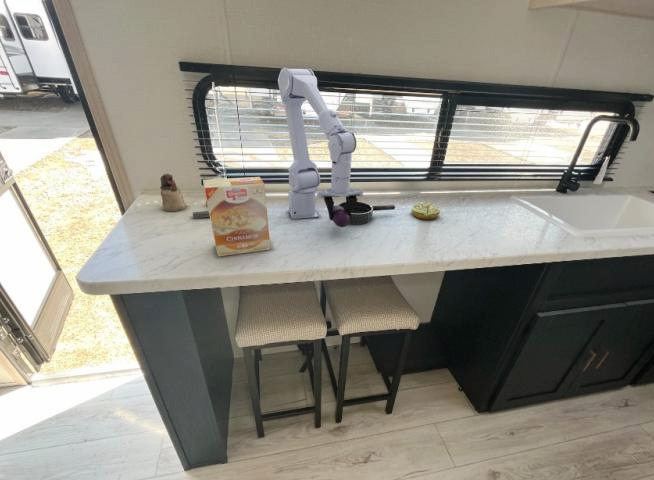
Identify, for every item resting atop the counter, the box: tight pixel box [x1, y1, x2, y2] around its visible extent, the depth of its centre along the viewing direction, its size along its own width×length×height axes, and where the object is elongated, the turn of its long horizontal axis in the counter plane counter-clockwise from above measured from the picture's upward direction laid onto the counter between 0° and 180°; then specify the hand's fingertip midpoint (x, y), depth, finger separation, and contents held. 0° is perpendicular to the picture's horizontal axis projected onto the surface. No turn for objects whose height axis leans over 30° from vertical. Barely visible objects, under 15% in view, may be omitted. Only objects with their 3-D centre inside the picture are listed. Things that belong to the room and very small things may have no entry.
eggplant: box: [332, 204, 349, 228], centre depth 109 cm, size 12×5×5 cm, turn 18°
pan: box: [337, 200, 374, 225], centre depth 121 cm, size 13×13×4 cm
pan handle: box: [371, 204, 396, 212], centre depth 124 cm, size 10×2×2 cm, turn 108°
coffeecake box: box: [202, 176, 271, 258], centre depth 93 cm, size 15×7×20 cm, turn 114°
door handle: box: [192, 199, 210, 219], centre depth 118 cm, size 3×20×16 cm
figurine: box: [159, 172, 186, 212], centre depth 116 cm, size 7×7×12 cm
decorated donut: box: [410, 201, 441, 220], centre depth 127 cm, size 10×11×4 cm
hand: (339, 218), depth 109 cm, fingers closed on eggplant, 5 cm apart
